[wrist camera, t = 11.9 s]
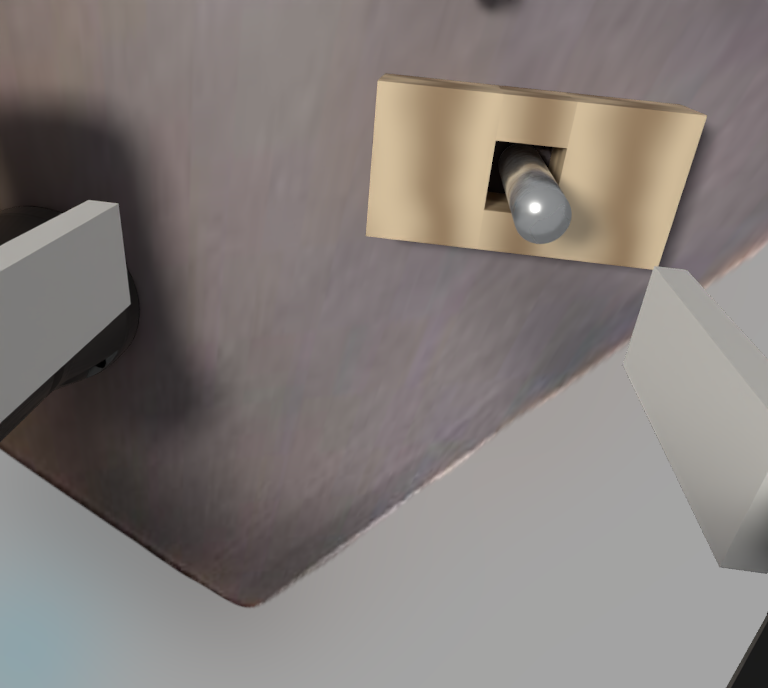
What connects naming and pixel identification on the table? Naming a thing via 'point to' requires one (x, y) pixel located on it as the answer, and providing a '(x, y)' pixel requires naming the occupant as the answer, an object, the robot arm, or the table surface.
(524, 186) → the peg
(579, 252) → the hole block
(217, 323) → the table surface
